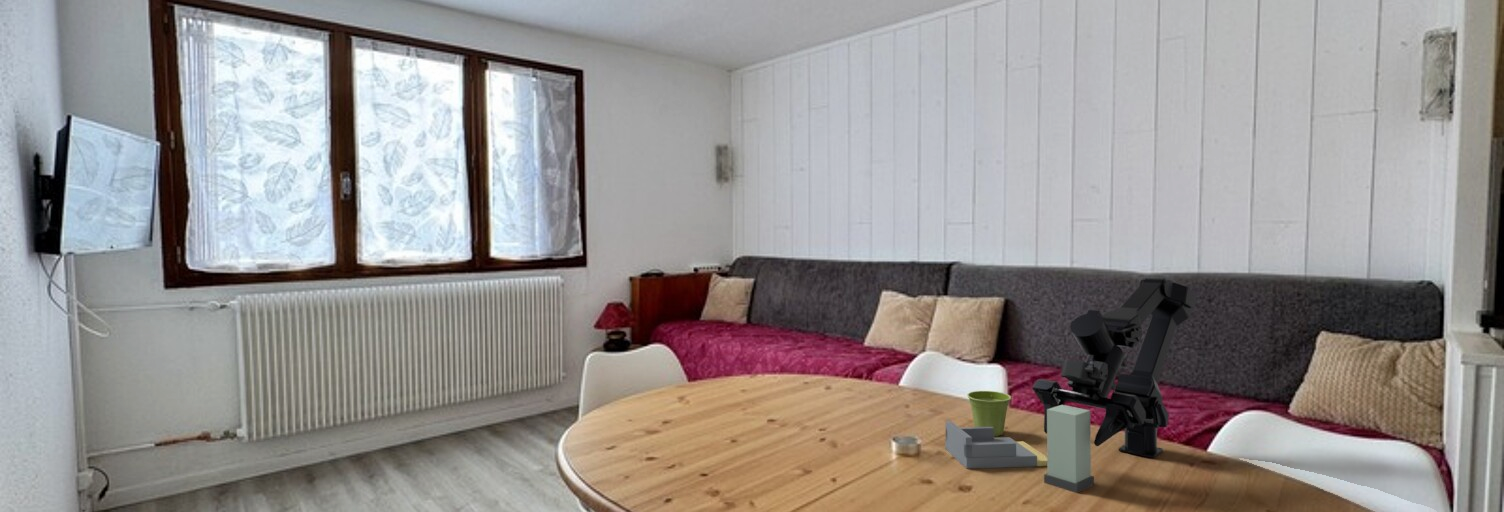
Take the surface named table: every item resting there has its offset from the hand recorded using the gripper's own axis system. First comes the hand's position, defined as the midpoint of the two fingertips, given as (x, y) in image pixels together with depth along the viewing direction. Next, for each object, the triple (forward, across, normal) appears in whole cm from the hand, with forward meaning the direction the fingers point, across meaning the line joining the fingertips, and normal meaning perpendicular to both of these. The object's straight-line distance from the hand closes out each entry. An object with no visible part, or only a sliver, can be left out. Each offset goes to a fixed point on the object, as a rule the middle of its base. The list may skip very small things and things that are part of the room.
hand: (1070, 438), depth 116 cm
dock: (+4, -16, +7) cm, 18 cm away
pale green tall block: (+6, 0, +6) cm, 8 cm away
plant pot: (-5, -27, +16) cm, 32 cm away
